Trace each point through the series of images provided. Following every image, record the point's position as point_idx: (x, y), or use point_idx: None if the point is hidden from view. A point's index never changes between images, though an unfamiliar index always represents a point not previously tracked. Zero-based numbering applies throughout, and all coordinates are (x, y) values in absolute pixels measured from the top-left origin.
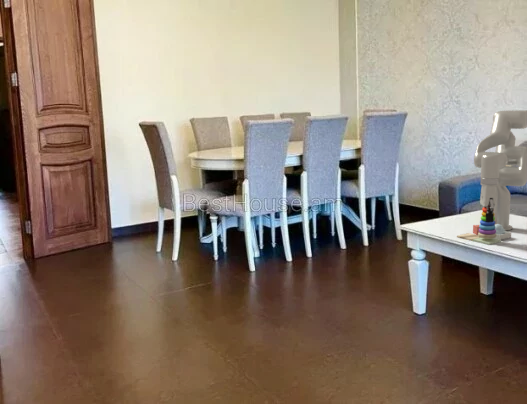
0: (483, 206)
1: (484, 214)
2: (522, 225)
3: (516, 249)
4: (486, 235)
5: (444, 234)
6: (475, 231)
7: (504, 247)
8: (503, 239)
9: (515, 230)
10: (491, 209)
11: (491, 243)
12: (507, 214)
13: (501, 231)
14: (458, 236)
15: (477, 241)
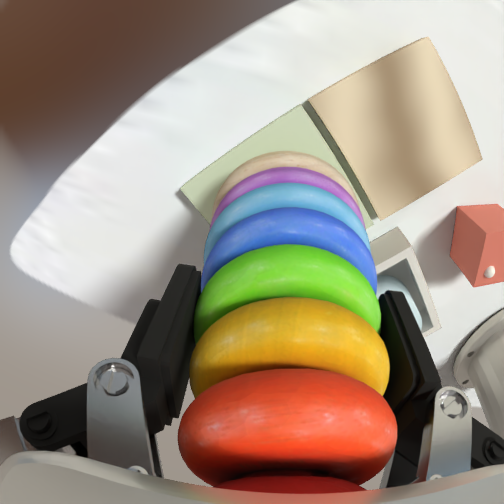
0: (446, 447)
1: (223, 332)
2: (477, 406)
3: (104, 292)
4: (217, 202)
5: (494, 11)
6: (482, 213)
7: (131, 253)
8: None
9: (443, 386)
10: (9, 429)
11: (200, 208)
12: (488, 422)
13: None
14: (415, 42)
15: (263, 128)
